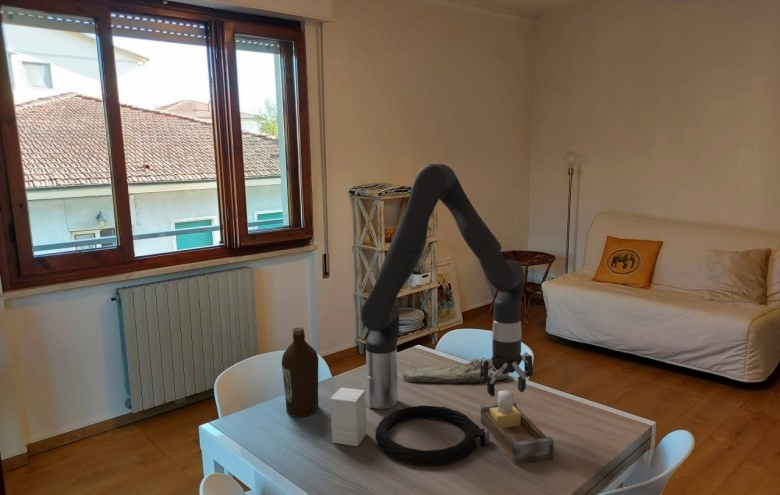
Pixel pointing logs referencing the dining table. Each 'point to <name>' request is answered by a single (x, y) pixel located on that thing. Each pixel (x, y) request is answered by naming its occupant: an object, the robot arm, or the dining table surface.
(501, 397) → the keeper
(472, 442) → the cable lock
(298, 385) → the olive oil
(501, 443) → the wooden tray
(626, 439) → the dining table surface
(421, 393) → the dining table surface
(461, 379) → the long grey stone
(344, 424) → the supplement box
